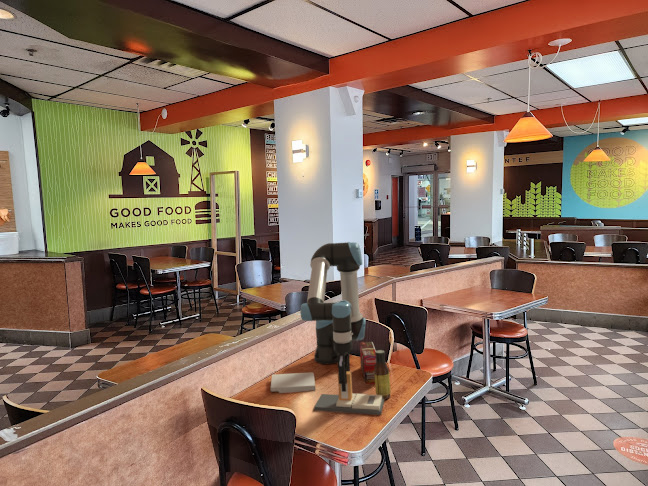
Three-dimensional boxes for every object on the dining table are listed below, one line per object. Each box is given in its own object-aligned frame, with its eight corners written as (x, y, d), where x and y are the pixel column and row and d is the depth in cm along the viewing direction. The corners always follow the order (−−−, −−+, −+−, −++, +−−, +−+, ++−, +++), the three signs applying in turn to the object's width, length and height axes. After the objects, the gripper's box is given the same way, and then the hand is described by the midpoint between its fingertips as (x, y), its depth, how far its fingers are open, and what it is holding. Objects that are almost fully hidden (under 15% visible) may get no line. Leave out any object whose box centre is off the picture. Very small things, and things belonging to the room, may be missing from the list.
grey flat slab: (313, 379, 209) (272, 381, 208) (313, 372, 209) (272, 374, 207) (315, 392, 194) (270, 395, 193) (315, 385, 194) (270, 388, 192)
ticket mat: (321, 397, 186) (321, 390, 186) (384, 401, 180) (384, 393, 179) (314, 410, 175) (314, 403, 175) (380, 414, 168) (380, 407, 168)
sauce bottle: (393, 396, 184) (391, 351, 182) (384, 401, 179) (382, 355, 178) (381, 392, 188) (379, 348, 187) (372, 397, 184) (370, 352, 182)
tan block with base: (341, 395, 183) (339, 367, 182) (355, 396, 182) (353, 368, 180) (336, 406, 173) (334, 377, 172) (350, 407, 172) (349, 377, 171)
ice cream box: (379, 383, 197) (377, 355, 196) (365, 384, 197) (363, 356, 196) (373, 367, 217) (372, 341, 216) (360, 368, 217) (359, 342, 216)
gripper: (348, 347, 167) (351, 405, 169) (355, 334, 182) (358, 388, 184) (329, 346, 168) (332, 404, 170) (338, 334, 184) (340, 387, 186)
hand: (345, 396), depth 177 cm, fingers closed on tan block with base, 3 cm apart
